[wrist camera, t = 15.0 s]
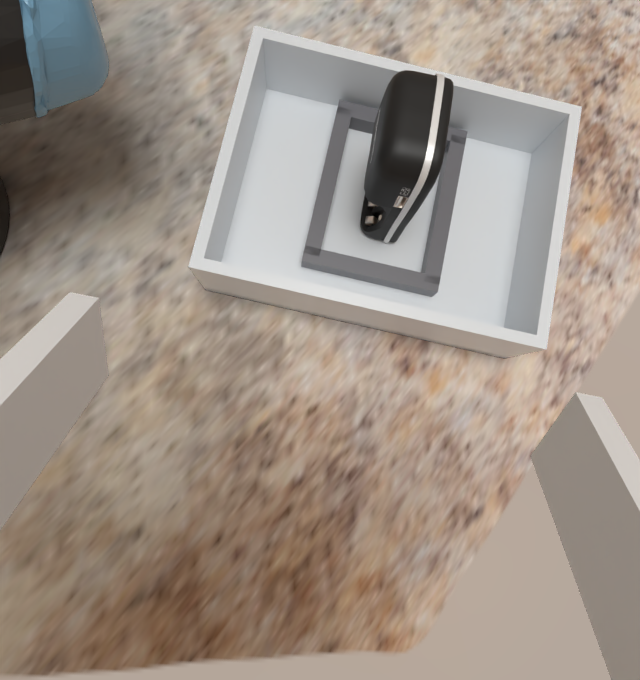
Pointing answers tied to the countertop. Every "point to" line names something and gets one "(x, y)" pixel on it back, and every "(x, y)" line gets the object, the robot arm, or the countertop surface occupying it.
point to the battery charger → (405, 151)
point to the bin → (348, 195)
